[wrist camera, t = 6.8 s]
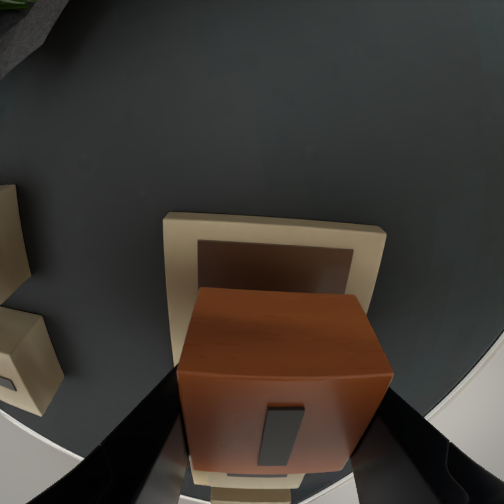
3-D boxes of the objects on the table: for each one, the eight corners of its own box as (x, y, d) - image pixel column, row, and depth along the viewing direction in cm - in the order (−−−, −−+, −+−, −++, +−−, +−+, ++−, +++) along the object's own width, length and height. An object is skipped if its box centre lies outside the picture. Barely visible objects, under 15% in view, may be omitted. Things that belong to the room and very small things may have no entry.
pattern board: (297, 478, 17) (298, 488, 16) (195, 474, 17) (193, 485, 16) (379, 225, 10) (389, 235, 9) (168, 211, 10) (161, 219, 9)
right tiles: (278, 483, 16) (280, 522, 13) (216, 481, 16) (213, 521, 13) (308, 389, 12) (318, 450, 9) (211, 386, 12) (203, 448, 9)
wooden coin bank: (325, 395, 9) (342, 473, 7) (203, 392, 9) (191, 473, 7) (356, 293, 8) (397, 377, 5) (199, 285, 8) (173, 375, 5)
